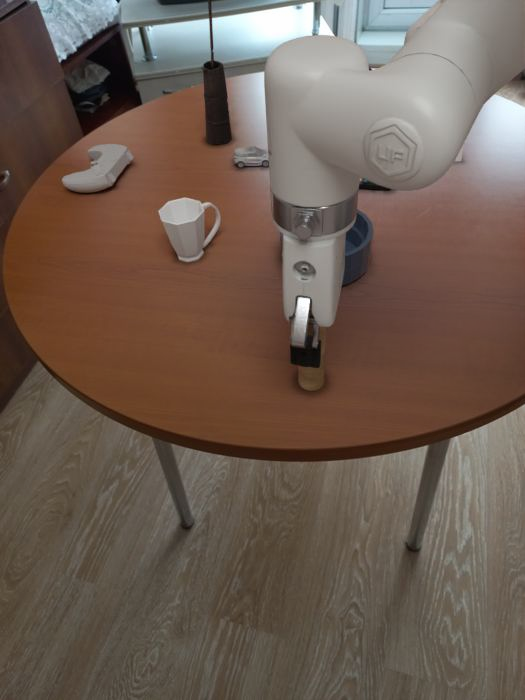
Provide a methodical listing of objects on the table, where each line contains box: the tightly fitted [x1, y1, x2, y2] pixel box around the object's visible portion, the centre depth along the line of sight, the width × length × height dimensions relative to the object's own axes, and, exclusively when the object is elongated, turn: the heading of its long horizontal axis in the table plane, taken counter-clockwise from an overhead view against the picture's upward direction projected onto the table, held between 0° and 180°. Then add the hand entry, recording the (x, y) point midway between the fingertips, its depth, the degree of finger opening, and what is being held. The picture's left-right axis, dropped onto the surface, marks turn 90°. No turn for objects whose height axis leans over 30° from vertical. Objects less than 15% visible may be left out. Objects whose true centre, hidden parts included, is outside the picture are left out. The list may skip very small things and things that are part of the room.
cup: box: [157, 197, 222, 263], centre depth 80 cm, size 7×10×8 cm
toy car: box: [233, 145, 269, 169], centre depth 98 cm, size 4×8×3 cm, turn 88°
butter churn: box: [200, 0, 233, 146], centre depth 95 cm, size 9×10×28 cm
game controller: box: [61, 143, 135, 194], centre depth 98 cm, size 14×4×10 cm
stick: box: [297, 310, 328, 392], centre depth 60 cm, size 3×3×13 cm
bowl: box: [279, 208, 375, 286], centre depth 77 cm, size 13×13×6 cm
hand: (311, 336), depth 58 cm, fingers open, 7 cm apart
